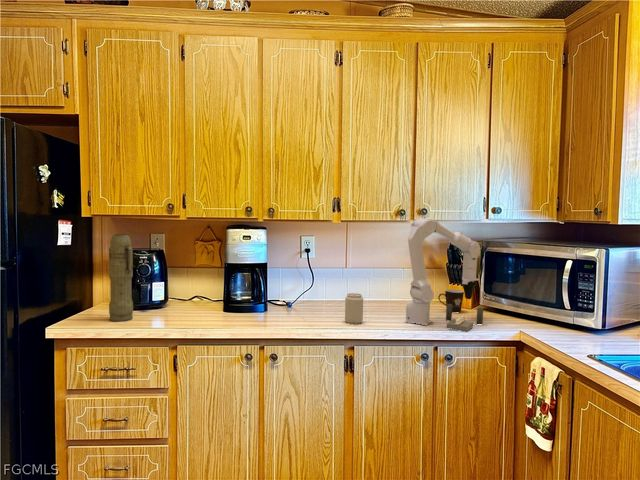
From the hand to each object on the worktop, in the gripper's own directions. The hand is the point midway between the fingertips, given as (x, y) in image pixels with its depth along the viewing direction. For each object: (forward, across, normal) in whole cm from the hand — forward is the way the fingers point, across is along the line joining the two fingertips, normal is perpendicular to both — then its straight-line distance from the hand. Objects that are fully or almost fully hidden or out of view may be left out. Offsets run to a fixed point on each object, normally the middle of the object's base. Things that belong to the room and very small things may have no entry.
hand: (468, 298), depth 193 cm
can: (+10, -35, +38) cm, 53 cm away
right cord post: (+9, -6, -6) cm, 13 cm away
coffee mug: (+10, +12, +11) cm, 19 cm away
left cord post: (+9, -6, +6) cm, 13 cm away
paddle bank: (+7, -16, -1) cm, 18 cm away
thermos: (+10, -90, +117) cm, 148 cm away
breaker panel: (+9, -16, -1) cm, 19 cm away
